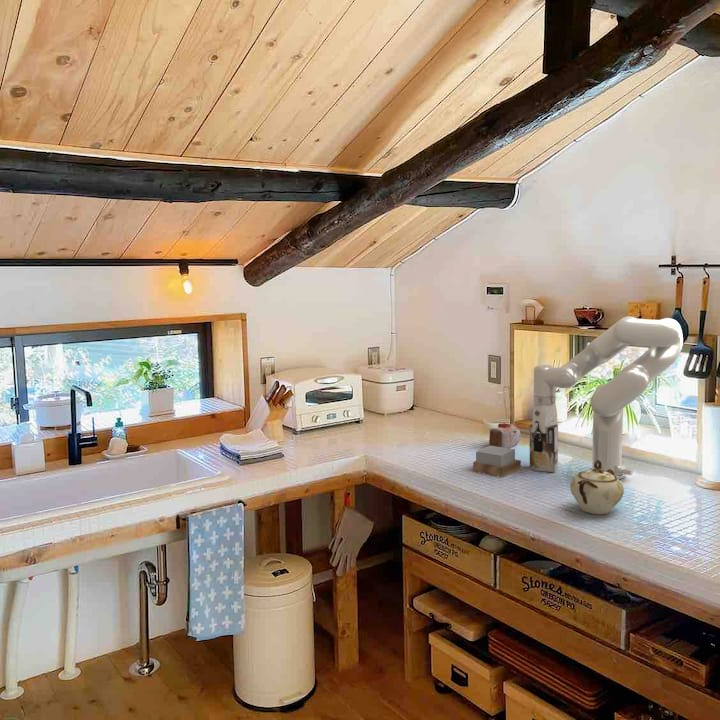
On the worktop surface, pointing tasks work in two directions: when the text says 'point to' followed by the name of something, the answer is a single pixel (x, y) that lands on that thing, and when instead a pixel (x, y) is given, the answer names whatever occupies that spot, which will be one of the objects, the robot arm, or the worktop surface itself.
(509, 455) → the tower top block
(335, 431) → the worktop surface
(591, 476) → the sugar bowl
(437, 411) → the worktop surface
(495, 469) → the tower base block
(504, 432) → the food item
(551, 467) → the coffee box
